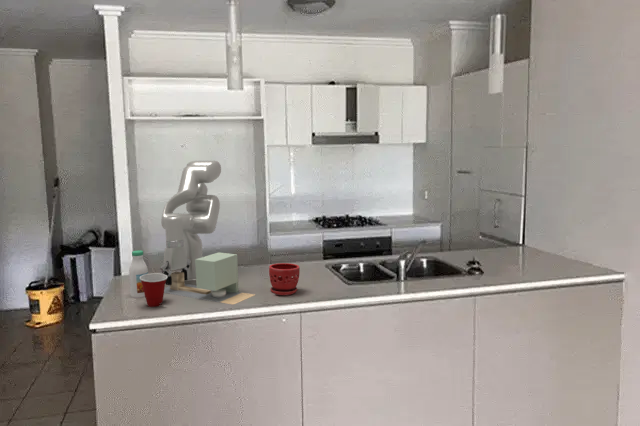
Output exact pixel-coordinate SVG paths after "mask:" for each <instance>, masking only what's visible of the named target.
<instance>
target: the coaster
mask: <svg viewBox="0 0 640 426" xmlns="http://www.w3.org/2000/svg"><path fill="white" fill-rule="evenodd" d="M224 296H226V289H219V290H216V291H214V290H212V297H224Z"/></svg>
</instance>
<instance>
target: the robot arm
mask: <svg viewBox="0 0 640 426" xmlns="http://www.w3.org/2000/svg"><path fill="white" fill-rule="evenodd" d="M221 172H222V166H221V163H220V162H219V161H218V160H192V161H190V162H188V163H187V164H186V166H185V167H184V168H183V170H182V173H181V176H180V180H179V181H180V182H179V186H178V189H177V192H176V194H174V195H173V196H171V197H170V198H169V200H168V201H167V202H166V203H165V205H164V207H163V210H162V213H161V214H162V215H161V226H162V228H163V229H164V230H165V243H166V244H165V248H164V253H163V263H162V265H161V266H160V268H159V269H160V271H161V274H165V275H167V276H168V277H167V279H166V282H165V286H170V285H172V277H171V276H170V275H171V273H173V272H176V271H179V270H180V272H184V281H196V265H195V259H198V258H202V257H204V256H203V242H202V239H201V238H200V236H199V234H201V235H204V234H205V235H207V234H212V233H214V232H215V231H216V228H217V223H218V218H219V215H220V214H219V213H220V208H221V207H220V205H221V202H220V198H219V197H218V196H217V195H214V194H208V192H209V191H208V190H209V188H208V186H207V185H206V184H209V183H213V182H214V181H215V180H217V179H218V178H219V177H220V175H221ZM182 205H185V209H186V212H187V213H179V212H178V213H173V212H175V210H176V209H178V207H181V206H182Z"/></svg>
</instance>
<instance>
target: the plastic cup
mask: <svg viewBox="0 0 640 426" xmlns="http://www.w3.org/2000/svg"><path fill="white" fill-rule="evenodd" d="M167 277H168V276H167V275H165V274H163V273H157V272H156V273H155V272H154V273H148V274H145V275H142V276H140V280H141V282H142V285H143V290H144V294H145V297H144V298H145V302H146V304H147V307H150V308H152V307H153V308H154V307H160V306H162V305H163V304H162V303H163V302H164V296H165V295H164V294H165V293H164V288H166V284H165V282H166V279H167Z"/></svg>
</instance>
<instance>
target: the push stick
mask: <svg viewBox="0 0 640 426" xmlns="http://www.w3.org/2000/svg"><path fill="white" fill-rule="evenodd" d="M170 276H171V277H172V285H169V286H170V289H173V290H182V291H188V292H194V293H200V294H206V295H207V294H209V293H212V292H211V290H206V289H199V288H193V287H187V286H185V284H186V283H185V280H184V272H181V271H178V270H175V271H172V273H171V275H170Z"/></svg>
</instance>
